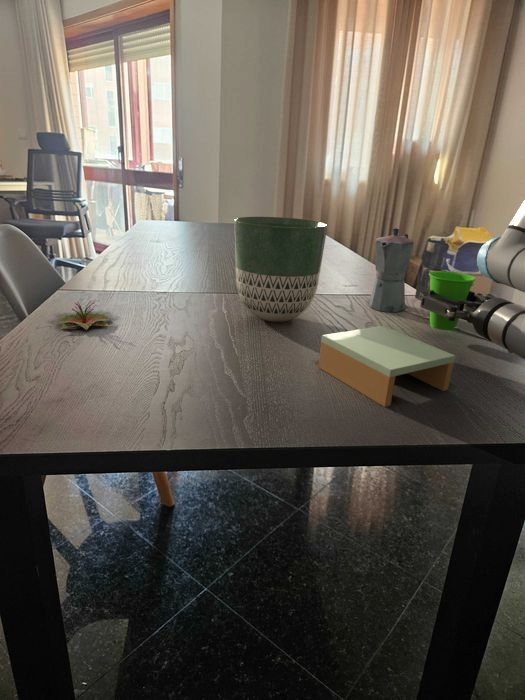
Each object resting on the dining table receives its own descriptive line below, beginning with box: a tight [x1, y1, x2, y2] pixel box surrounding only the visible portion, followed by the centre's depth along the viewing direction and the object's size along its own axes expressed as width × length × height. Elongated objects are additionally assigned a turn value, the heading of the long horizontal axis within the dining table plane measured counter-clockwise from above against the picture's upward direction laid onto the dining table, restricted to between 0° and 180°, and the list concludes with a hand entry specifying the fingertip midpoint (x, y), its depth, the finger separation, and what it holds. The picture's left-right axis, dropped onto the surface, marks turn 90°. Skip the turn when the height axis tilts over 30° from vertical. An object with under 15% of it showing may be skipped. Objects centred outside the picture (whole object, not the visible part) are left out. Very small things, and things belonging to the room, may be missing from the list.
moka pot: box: [368, 228, 414, 313], centre depth 118 cm, size 10×15×20 cm, turn 145°
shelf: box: [318, 325, 456, 408], centre depth 77 cm, size 16×14×6 cm
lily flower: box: [53, 300, 115, 331], centre depth 95 cm, size 12×12×5 cm
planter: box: [234, 216, 328, 323], centre depth 103 cm, size 20×20×21 cm
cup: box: [428, 270, 476, 331], centre depth 98 cm, size 9×9×11 cm
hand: (436, 291), depth 102 cm, fingers closed on cup, 8 cm apart
